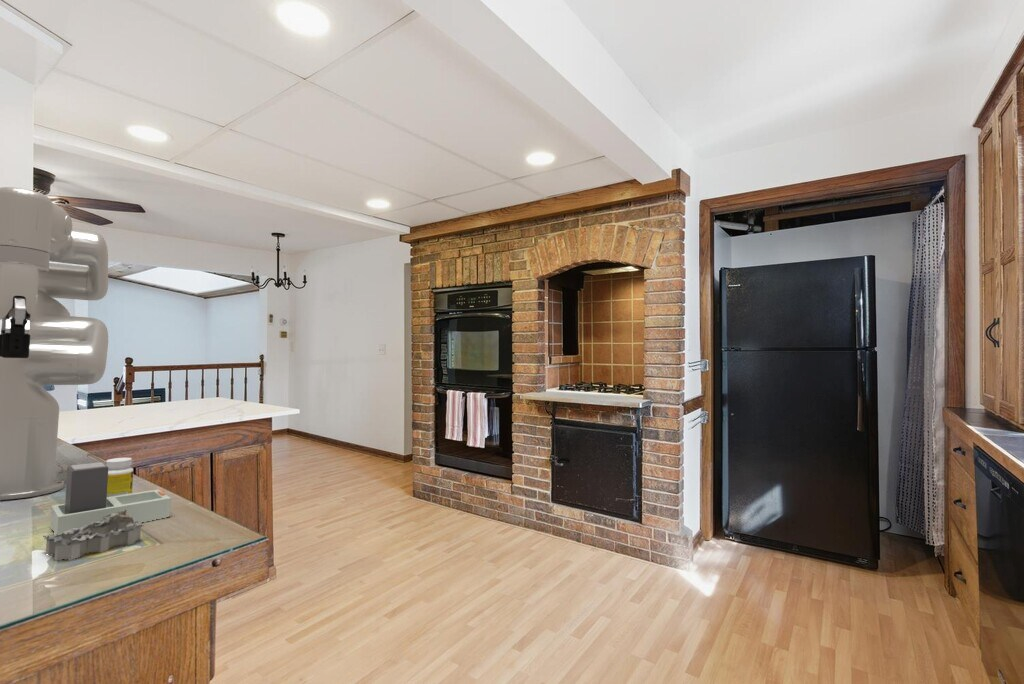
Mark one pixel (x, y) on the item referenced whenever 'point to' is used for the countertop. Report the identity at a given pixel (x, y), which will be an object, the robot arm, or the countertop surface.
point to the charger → (86, 487)
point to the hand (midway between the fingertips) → (12, 357)
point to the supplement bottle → (119, 476)
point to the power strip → (115, 510)
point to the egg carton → (94, 536)
